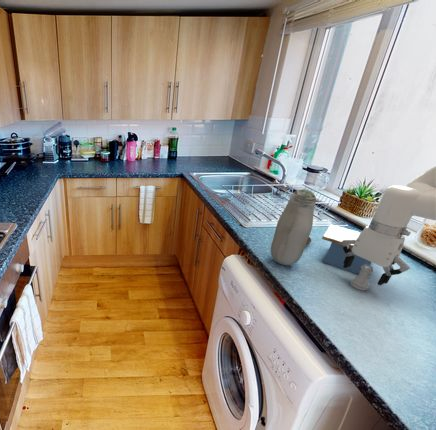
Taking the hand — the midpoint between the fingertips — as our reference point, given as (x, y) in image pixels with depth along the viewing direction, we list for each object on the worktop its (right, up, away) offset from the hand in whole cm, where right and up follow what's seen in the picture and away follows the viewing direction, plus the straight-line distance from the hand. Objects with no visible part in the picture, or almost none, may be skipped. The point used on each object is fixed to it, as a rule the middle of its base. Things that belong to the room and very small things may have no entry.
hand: (363, 274), depth 91 cm
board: (+7, +10, +11) cm, 16 cm away
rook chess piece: (0, -4, +2) cm, 5 cm away
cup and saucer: (-4, +8, +29) cm, 31 cm away
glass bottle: (-17, +2, +14) cm, 23 cm away
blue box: (+7, +2, +15) cm, 16 cm away
